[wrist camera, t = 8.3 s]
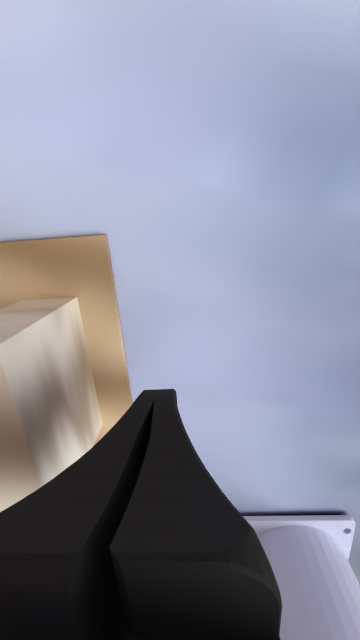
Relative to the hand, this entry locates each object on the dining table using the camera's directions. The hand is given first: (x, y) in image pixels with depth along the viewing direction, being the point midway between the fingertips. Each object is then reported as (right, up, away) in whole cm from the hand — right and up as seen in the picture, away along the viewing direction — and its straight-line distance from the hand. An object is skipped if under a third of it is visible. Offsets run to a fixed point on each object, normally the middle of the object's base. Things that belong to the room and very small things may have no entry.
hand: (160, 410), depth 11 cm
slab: (-6, +1, +4) cm, 7 cm away
